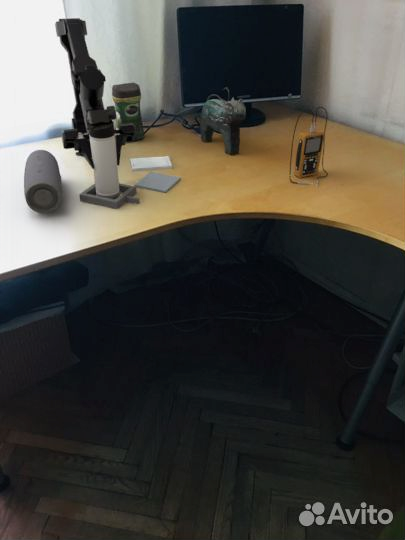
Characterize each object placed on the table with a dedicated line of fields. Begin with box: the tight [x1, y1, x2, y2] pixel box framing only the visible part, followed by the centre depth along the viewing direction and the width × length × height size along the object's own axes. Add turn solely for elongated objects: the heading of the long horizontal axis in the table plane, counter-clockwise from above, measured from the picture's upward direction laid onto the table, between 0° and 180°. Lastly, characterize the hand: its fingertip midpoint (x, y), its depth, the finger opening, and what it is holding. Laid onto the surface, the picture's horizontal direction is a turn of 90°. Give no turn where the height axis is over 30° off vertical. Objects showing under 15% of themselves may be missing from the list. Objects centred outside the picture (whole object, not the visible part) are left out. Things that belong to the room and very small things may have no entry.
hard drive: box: [129, 155, 174, 172], centre depth 144 cm, size 2×8×12 cm
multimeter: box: [289, 106, 328, 187], centre depth 131 cm, size 15×10×20 cm
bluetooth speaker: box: [23, 149, 62, 214], centre depth 121 cm, size 23×9×10 cm, turn 17°
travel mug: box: [88, 119, 121, 200], centre depth 119 cm, size 6×7×20 cm
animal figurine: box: [199, 87, 247, 156], centre depth 151 cm, size 20×6×20 cm, turn 35°
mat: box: [133, 171, 182, 194], centre depth 133 cm, size 10×10×1 cm
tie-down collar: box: [79, 182, 141, 210], centre depth 124 cm, size 15×10×2 cm
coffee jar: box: [111, 82, 145, 142], centre depth 158 cm, size 10×8×19 cm
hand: (106, 166), depth 118 cm, fingers closed on travel mug, 6 cm apart
